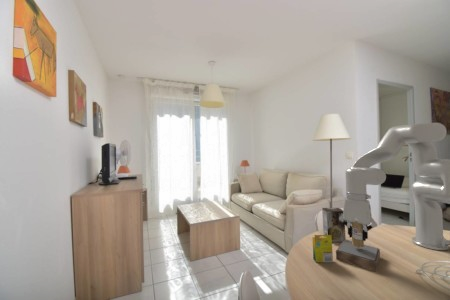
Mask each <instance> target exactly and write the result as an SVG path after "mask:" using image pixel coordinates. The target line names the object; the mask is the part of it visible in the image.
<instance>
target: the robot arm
mask: <svg viewBox="0 0 450 300" xmlns="http://www.w3.org/2000/svg"><path fill="white" fill-rule="evenodd" d="M447 131H448V130H447V128H446V126H445V125H444V124H442V123H441V122H426V123H425V122H424V123H421V122H420V123H411V124H403V125H397V126H395V125H394V126H392V127H390V128H389V129H388V130H387V131H386V133H385V134H384V135H383V137H382V138H381V139H380V141H379V142H378V143H377V145H376V146H375V148H373V149H371V150H370V151H368V152H366V153H364V154H363V155H361V156H360V157H358V158H357V159H356V161H355V162H354V163H353V165H352V166H351V167H350V168H347V169H346V170H345V192H346V193H345V194H346V195H345V196H346V197H345V198H344V201H343V209H342V210H343V214H342V215H341V216H340V217H339V220H340V221H342V222H343V223H344V224H345V227H346V228H347V235H348V236H349V238H351V239H352V222H356V221H357V220H355V218H357V219H358V221H357V222H358V223H360V224H362V225H363V240H364V242H366V240H368V238H369V236H368V234H369V233H368V231H370V230H372V229H374V228H376V227H378V223H377V222H376V221H375V220H374V218H373V217H372V215H373V214H372V209H371V203H370V200H369V199H372V196H371V195H369V194H368V193H367V186H368V185H369V186H370V185H371V186H379V185H382V184H383V183H385V182H386V179H387V175H386V173H385V172H384V170H382V169H381V168H376V167H374V166H375V165H377V164H381V163H385V162H388V161H391V160H394V159H396V157H397V156H398V154H399V153H400V152H401V150H403V147H404V145H405V144H406V145H407V146H408V147H409V148H410V150H411V153H412V164H413V165H412V166H413V173H414V174H415V175H416V176H417V177H420V178H425V179H427V180H423V179H421V180H420V179H419V180H416V181H414V182H412V184H411V188H410V189H411V193H412V197H413V203H414V221H415V236H414V237H411V242H412V243H414V244H416V245H418V246H420V247H423V248H426V249H429V250H435V251H448V250H449V249H450V248H449V247H450V239H446V238H445V236H444V222H443V217H444V216H443V209H442V207H441V205H440V204H439V203H442V204H443V203H444V204H448V205H450V158H449V159H448V158H438V154H437V147H436V146H435V144H433V143H434V142H439V141H440V142H441V141H442V140H444V139H445V137H446V136H447ZM432 142H433V143H432ZM428 179H434V180H428ZM435 179H436V180H441V181H436V180H435Z"/></svg>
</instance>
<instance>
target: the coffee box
mask: <svg viewBox="0 0 450 300" xmlns="http://www.w3.org/2000/svg"><path fill="white" fill-rule="evenodd" d="M321 209H322V230H323V231H322V232H323V233H322V235H331V236H332V243H333V242H335V243H339V242H340V243H342V242H343V240H347V238H346V225H345V224H344V223H343V222H342V221H340V220H339V217H340V216H341V215H342V214H343V209H341V208H340V207H322V208H321ZM322 237H324V236H322Z"/></svg>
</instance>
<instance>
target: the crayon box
mask: <svg viewBox="0 0 450 300" xmlns="http://www.w3.org/2000/svg"><path fill="white" fill-rule="evenodd" d="M323 236H324V237H323ZM312 254H313V255H312V256H313V257H312V258H313V261H314V262H315V263H332V264H333V263H334V255H333V254H334V253H333V242H332V236H331V235H323V234H314V236H313V237H312Z"/></svg>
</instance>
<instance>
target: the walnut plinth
mask: <svg viewBox="0 0 450 300" xmlns="http://www.w3.org/2000/svg"><path fill="white" fill-rule="evenodd" d="M380 250H381V249H380V248H379V247H375V246H371V245H366V244H364V247H356V246H354V245H352V240H351V241H350V240H347V239H346V240H343V242H340V244H339V246H338V248H337V249H336V250H335V258H336V261H337V260H338V261H341V262H344V263H347V264H351V265H354V266H357V267H360V268H363V269H366V270H370V271H372V272H378V266H379V262H380V259H381V254H380V253H381V251H380Z"/></svg>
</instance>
